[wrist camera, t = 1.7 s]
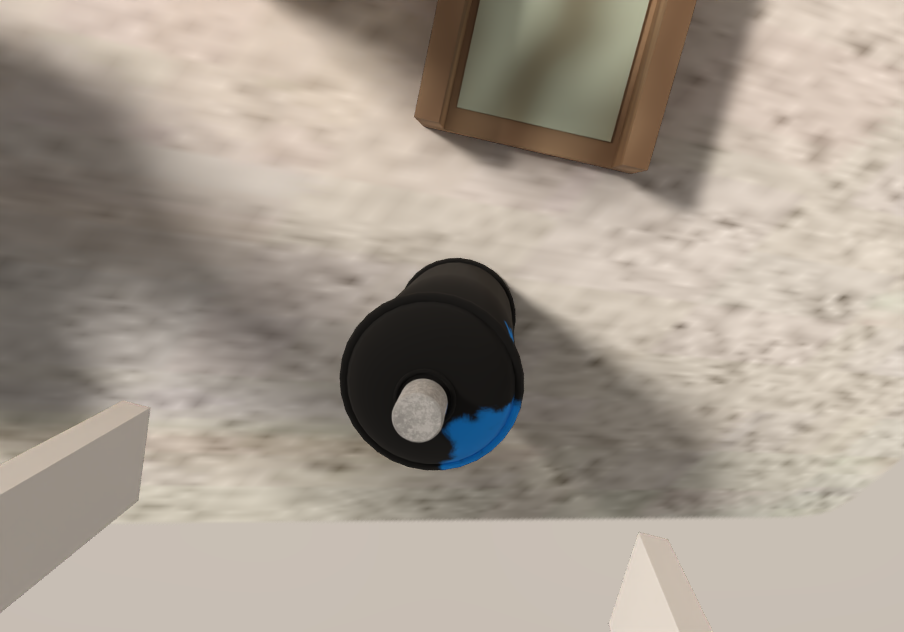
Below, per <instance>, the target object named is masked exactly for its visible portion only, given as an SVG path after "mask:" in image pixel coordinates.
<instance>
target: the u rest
mask: <svg viewBox="0 0 904 632" xmlns="http://www.w3.org/2000/svg"><path fill="white" fill-rule="evenodd" d="M696 1H697V0H438V2H437V7H436V12H435V17H434V22H433V27H432V32H431V37H430V41H429V46H428V51H427V56H426V61H425V66H424V71H423V76H422V81H421V86H420V90H419V95H418V100H417V105H416V110H415V115H414V117H415V118H416V119H417V120H418V121H419V122H420V123H421V124H422V125H423V126H425V127H429V128H433V129H438V130H442V131H446V132H451V133H455V134H460V135H464V136H468V137H473V138H477V139H481V140H486V141H490V142H494V143H499V144H503V145H507V146H512V147H516V148H521V149H525V150H529V151H534V152H538V153H542V154H547V155H551V156H555V157H560V158H564V159H569V160H573V161H577V162H582V163H586V164H590V165H595V166H599V167H603V168H608V169H612V170H617V171H621V172H625V173H630V174H632V173H637V172H642V171H647V170H648V167H649V164H650V160H651V157H652V153H653V150H654V147H655V143H656V140H657V136H658V133H659V129H660V126H661V122H662V119H663V115H664V112H665V108H666V105H667V101H668V98H669V94H670V91H671V88H672V84H673V81H674V77H675V74H676V70H677V67H678V63H679V60H680V56H681V53H682V49H683V46H684V42H685V39H686V35H687V32H688V29H689V25H690V22H691V18H692V15H693V11H694V8H695V4H696Z"/></svg>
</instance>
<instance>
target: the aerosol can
mask: <svg viewBox="0 0 904 632" xmlns="http://www.w3.org/2000/svg"><path fill="white" fill-rule="evenodd" d="M514 326H515V307H514V302H513V298H512V296H511V294H510V291H509V289H508V287H507V286H506V285H505V283H504V282H503V280H502V279H501V278H500V277H499V276H498V275H497V274H496V273H495V272H494V271H493V270H491V269H490V268H488V267H486V266H485V265H483V264H481V263H478V262H475V261H473V260H468V259H462V258H448V259H444V260H440V261H436V262H434V263H432V264H429V265H427V266H426V267H424V268H423V269H421V270H420V271H419V272H417V273H416V274H415V275H414V277H413V278H412V279H411V280H410V281H409V282H408V284H407V286H406V287H405V289H404V290H403V291H402V292H401V293H400V294H399V295H398V296H397V297H396V298H395V299H392V300H390V301H388V302H386V303H383V304H382V305H380V306H379V307H378V308H376V309H375V310H373V311H372V312H371V313H369V314H368V315H367V316H366V317H365V318H364V319H363V321H362V322H361V323H360V324H359V325H358V326H357V327H356V329H355V330H354V332H353V334H352V335H351V337H350V339H349V341H348V342H347V345H346V348H345V351H344V354H343V357H342V361H341V369H340V388H341V396H342V399H343V403H344V406H345V410H346V412H347V414H348V416H349V418H350V420H351V422H352V424H353V426H354V427H355V429H356V430H357V431H358V433H359V434H360V435H361V437H362V438H363V439H364V440H365V441H366V442H367V443H368V444H369V445H370V446H372V447H373V448H374V449H375V450H376V451H377V452H379V453H380V454H382V455H384V456H385V457H387V458H389V459H390V460H392V461H394V462H397V463H400V464H402V465H405V466H407V467H412V468H417V469H423V470H446V469H452V468H457V467H461V466H464V465H466V464H469V463H471V462H474V461H477V460H478V459H480V458H481V457H483V456H484V455H486V454H487V453H489V452H491V451H492V450H493V449H494V448H495V447H496V446H497V445H498V444H499V443H500V442H501V441H502V440H503V439H504V438H505V436H506V435H507V434H508V432H509V431H510V429H511V428H512V426H513V425H514V423H515V420H516V418H517V416H518V413H519V411H520V408H521V403H522V398H523V393H524V373H523V369H522V364H521V360H520V356H519V353H518V351H517V349H516V347H515V344H514V333H513V332H514Z"/></svg>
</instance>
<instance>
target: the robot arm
mask: <svg viewBox="0 0 904 632" xmlns="http://www.w3.org/2000/svg"><path fill="white" fill-rule="evenodd" d="M149 415H150V407H146V406H142V405H138V404H134V403H130V402H126V401H121V402H119V403H117V404H116V405H114V406H112V407H110V408H108V409H106V410H104V411H102V412H100V413H98V414H96V415H94V416H92V417H91V418H89V419H87V420H85V421H83V422H81V423H79V424H77V425H75V426H73V427H71V428H69V429H67V430H66V431H64V432H62V433H60V434H58V435H56V436H54V437H52V438H50V439H48V440H46V441H44V442H42V443H41V444H39V445H37V446H35V447H33V448H31V449H29V450H27V451H25V452H23V453H21V454H19V455H18V456H16V457H14V458H12V459H10V460H8V461H6V462H4V463H2V464H0V613H1V612H2V611H3V610H5V609H6V608H7V607H8V606H10V605H11V604H12V603H13V602H14V601H16V600H17V599H18V598H19V597H21V596H22V595H23V594H24V593H25V592H27V591H28V590H29V589H30V588H31V587H33V586H34V585H35V584H36V583H38V582H39V581H40V580H41V579H43V578H44V577H45V576H46V575H47V574H49V573H50V572H51V571H52V570H54V569H55V568H56V567H57V566H58V565H60V564H61V563H62V562H63V561H64V560H66V559H67V558H68V557H70V556H71V555H72V554H73V553H74V552H76V551H77V550H78V549H79V548H81V547H82V546H83V545H84V544H86V543H87V542H88V541H89V540H90V539H92V538H93V537H94V536H95V535H97V534H98V533H99V532H100V531H101V530H103V529H104V528H105V527H106V526H108V525H109V524H110V523H111V522H113V521H114V520H115V519H116V518H117V517H119V516H120V515H121V514H122V513H124V512H125V511H126V510H127V509H128V508H130V507H131V506H132V505H133V504H135V503H136V502H137V501H138V499H139V491H140V484H141V476H142V468H143V461H144V453H145V445H146V438H147V430H148V422H149ZM609 627H610V631H611V632H713V631H712V629H711V627H710V624H709V622H708V620H707V619H706V616H705V614H704V612H703V610H702V608H701V606H700V604H699V602H698V600H697V598H696V596H695V594H694V592H693V590H692V588H691V586H690V584H689V581H688V579H687V577H686V575H685V573H684V571H683V569H682V567H681V565H680V563H679V561H678V559H677V557H676V555H675V553H674V551H673V549H672V547H671V545H670V543H669V540H668V539H664V538H660V537H656V536H652V535H648V534H644V533H640V532H639V533H638V535H637V538H636V542H635V545H634V548H633V551H632V554H631V557H630V560H629V563H628V566H627V569H626V572H625V575H624V578H623V581H622V584H621V587H620V591H619V593H618V596H617V599H616V603H615V606H614V609H613V612H612V615H611V618H610V621H609Z"/></svg>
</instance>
